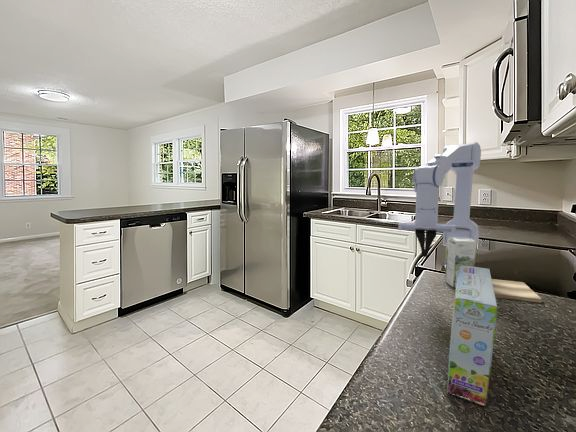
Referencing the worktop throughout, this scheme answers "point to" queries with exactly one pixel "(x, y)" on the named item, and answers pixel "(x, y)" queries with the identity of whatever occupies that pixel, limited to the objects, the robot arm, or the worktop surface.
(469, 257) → the syrup box
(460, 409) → the worktop surface
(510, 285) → the cutting board
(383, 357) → the worktop surface
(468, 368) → the snack box
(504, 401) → the worktop surface
